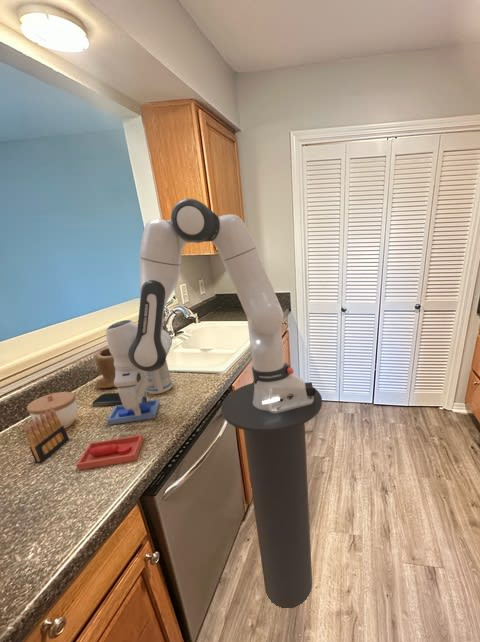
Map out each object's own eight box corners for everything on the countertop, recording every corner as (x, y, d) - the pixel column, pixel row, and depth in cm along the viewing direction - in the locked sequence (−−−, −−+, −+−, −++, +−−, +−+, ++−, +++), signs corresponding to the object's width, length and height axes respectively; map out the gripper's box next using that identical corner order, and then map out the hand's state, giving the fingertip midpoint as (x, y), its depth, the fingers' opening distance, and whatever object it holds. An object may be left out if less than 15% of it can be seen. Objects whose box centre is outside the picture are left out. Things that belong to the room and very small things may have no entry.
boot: (120, 390, 128) (109, 355, 123) (92, 390, 130) (80, 355, 124) (140, 374, 142) (131, 342, 136) (114, 374, 143) (105, 342, 137)
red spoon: (94, 452, 91) (91, 444, 90) (133, 446, 93) (130, 438, 92) (89, 460, 88) (86, 452, 87) (130, 453, 90) (127, 446, 89)
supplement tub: (169, 381, 134) (161, 348, 128) (175, 389, 127) (167, 354, 121) (144, 388, 129) (135, 354, 123) (149, 397, 122) (139, 361, 116)
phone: (131, 401, 116) (90, 403, 117) (132, 404, 117) (91, 406, 117) (141, 391, 124) (103, 393, 124) (142, 394, 124) (103, 395, 124)
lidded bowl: (89, 412, 113) (79, 384, 109) (73, 432, 102) (62, 401, 97) (48, 417, 111) (37, 389, 107) (29, 439, 100) (14, 408, 95)
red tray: (143, 439, 96) (142, 434, 96) (136, 460, 88) (134, 454, 87) (91, 448, 94) (89, 442, 93) (78, 470, 85) (76, 464, 84)
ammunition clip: (41, 462, 89) (25, 425, 84) (35, 462, 89) (18, 425, 84) (69, 439, 98) (55, 405, 94) (63, 439, 99) (49, 405, 94)
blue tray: (159, 404, 116) (158, 399, 116) (154, 418, 108) (153, 413, 107) (117, 410, 114) (115, 405, 113) (108, 425, 105) (107, 420, 104)
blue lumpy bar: (150, 413, 110) (148, 406, 109) (117, 418, 108) (115, 411, 107) (152, 408, 113) (150, 401, 112) (120, 412, 111) (118, 406, 110)
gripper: (129, 360, 114) (139, 395, 119) (111, 385, 95) (124, 424, 101) (148, 358, 115) (157, 392, 120) (134, 382, 96) (145, 421, 102)
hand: (142, 407), depth 110 cm, fingers open, 8 cm apart
